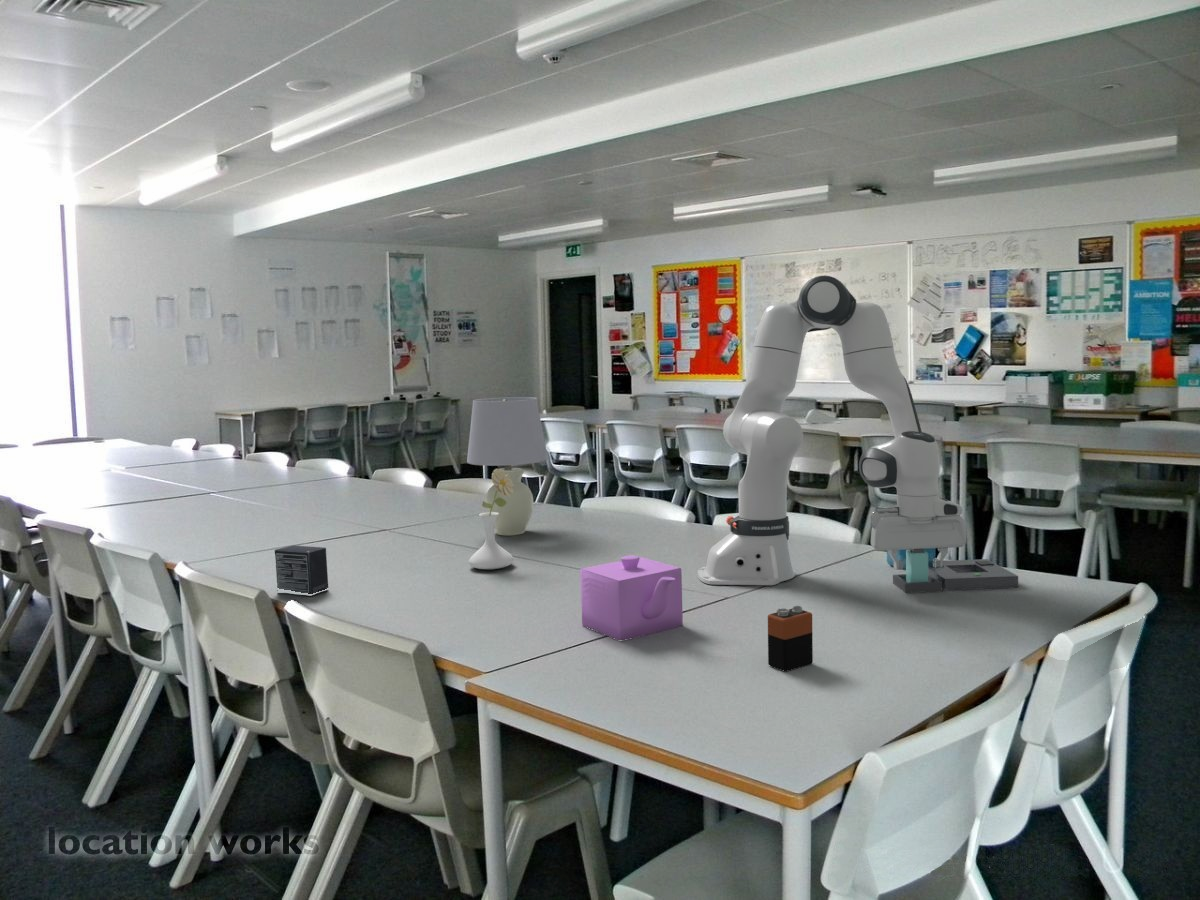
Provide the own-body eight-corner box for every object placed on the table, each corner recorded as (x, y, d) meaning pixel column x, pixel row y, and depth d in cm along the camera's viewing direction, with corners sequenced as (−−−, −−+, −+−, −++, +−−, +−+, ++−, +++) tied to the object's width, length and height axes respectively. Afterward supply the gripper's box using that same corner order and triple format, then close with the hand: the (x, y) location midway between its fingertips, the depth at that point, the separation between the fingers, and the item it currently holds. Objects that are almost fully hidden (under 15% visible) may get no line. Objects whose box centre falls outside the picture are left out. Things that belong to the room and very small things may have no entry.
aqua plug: (911, 589, 206) (911, 550, 205) (906, 585, 210) (906, 546, 209) (928, 589, 206) (928, 549, 205) (922, 585, 210) (922, 546, 209)
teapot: (643, 651, 172) (641, 575, 170) (568, 620, 192) (566, 553, 191) (706, 634, 180) (705, 562, 179) (629, 607, 201) (627, 542, 199)
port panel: (944, 590, 205) (944, 577, 205) (918, 572, 221) (918, 560, 221) (1018, 587, 205) (1018, 575, 205) (986, 569, 221) (986, 558, 221)
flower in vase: (485, 575, 232) (480, 474, 229) (460, 568, 240) (455, 470, 238) (528, 565, 240) (524, 468, 238) (502, 559, 249) (497, 464, 246)
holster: (905, 592, 204) (905, 583, 204) (892, 583, 212) (892, 574, 212) (941, 591, 204) (941, 582, 204) (928, 582, 212) (928, 573, 212)
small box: (330, 590, 223) (327, 546, 221) (311, 597, 217) (308, 552, 216) (296, 586, 227) (293, 543, 226) (276, 593, 221) (273, 549, 220)
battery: (766, 666, 162) (766, 609, 161) (795, 657, 166) (795, 601, 164) (785, 673, 158) (784, 614, 157) (814, 664, 162) (813, 607, 161)
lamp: (548, 539, 271) (542, 400, 267) (464, 542, 272) (457, 403, 267) (553, 523, 295) (548, 395, 290) (476, 526, 295) (470, 398, 291)
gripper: (875, 511, 203) (875, 574, 205) (969, 506, 204) (969, 569, 205) (866, 505, 209) (866, 567, 211) (957, 501, 210) (957, 562, 211)
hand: (918, 568), depth 208 cm, fingers open, 7 cm apart
